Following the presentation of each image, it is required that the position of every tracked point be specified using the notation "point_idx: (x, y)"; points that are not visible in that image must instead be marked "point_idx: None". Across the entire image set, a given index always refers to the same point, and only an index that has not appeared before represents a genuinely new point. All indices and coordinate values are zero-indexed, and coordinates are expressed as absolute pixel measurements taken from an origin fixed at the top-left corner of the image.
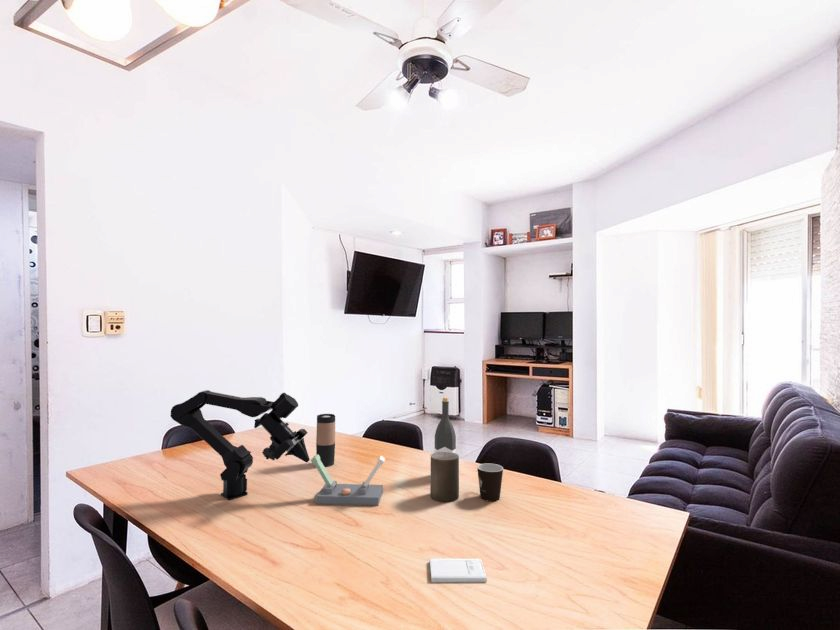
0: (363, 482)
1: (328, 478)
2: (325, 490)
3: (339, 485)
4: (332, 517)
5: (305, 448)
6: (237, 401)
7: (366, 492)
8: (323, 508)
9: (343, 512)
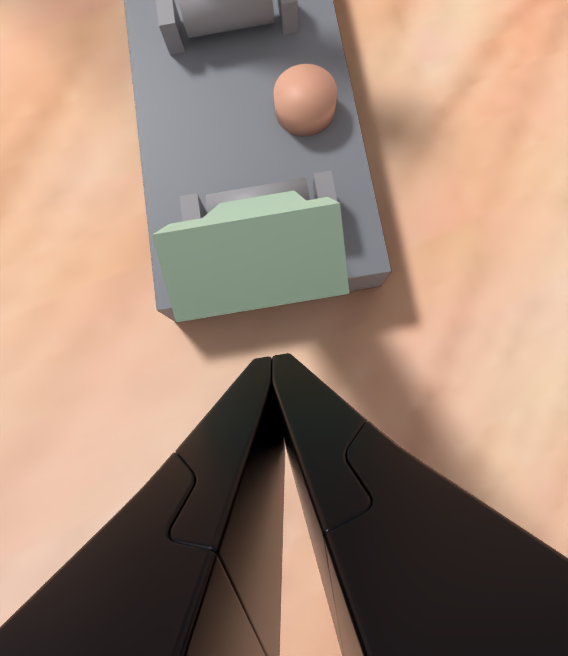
0: (188, 7)
1: (267, 198)
2: None
3: (175, 201)
4: (517, 128)
5: (196, 470)
6: None
7: None
8: (426, 219)
9: (442, 99)
